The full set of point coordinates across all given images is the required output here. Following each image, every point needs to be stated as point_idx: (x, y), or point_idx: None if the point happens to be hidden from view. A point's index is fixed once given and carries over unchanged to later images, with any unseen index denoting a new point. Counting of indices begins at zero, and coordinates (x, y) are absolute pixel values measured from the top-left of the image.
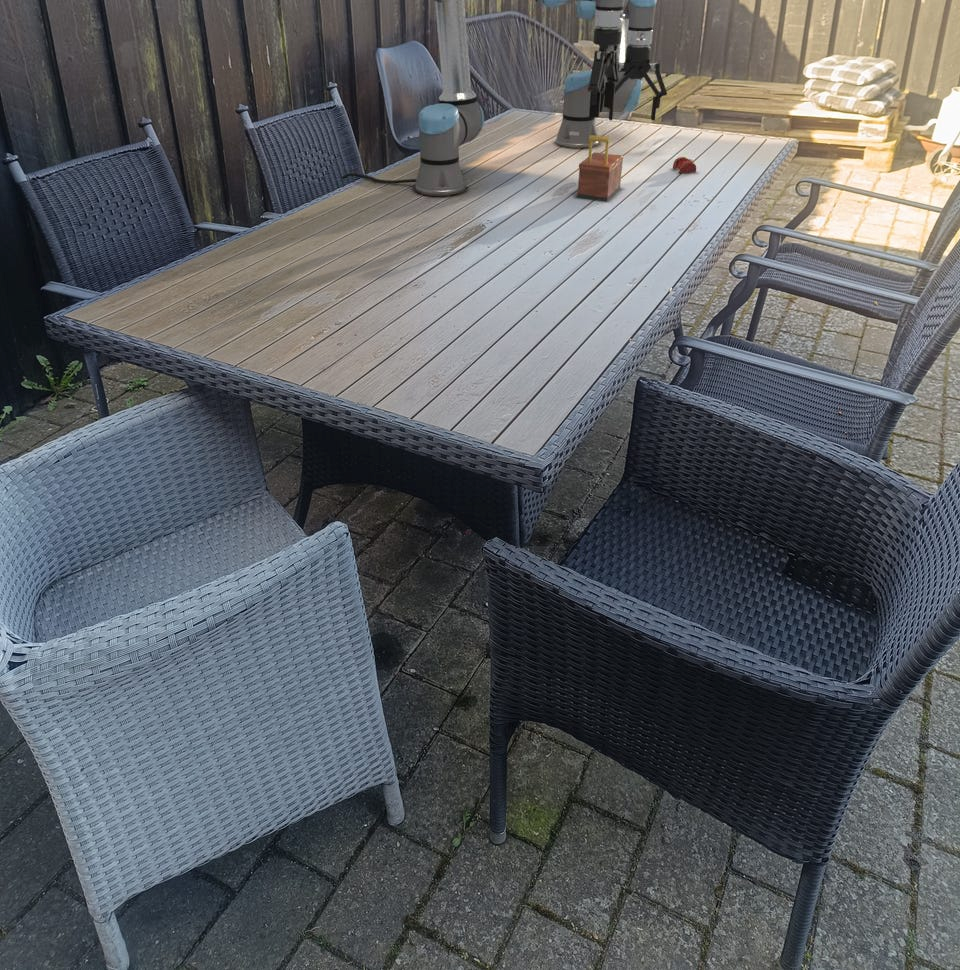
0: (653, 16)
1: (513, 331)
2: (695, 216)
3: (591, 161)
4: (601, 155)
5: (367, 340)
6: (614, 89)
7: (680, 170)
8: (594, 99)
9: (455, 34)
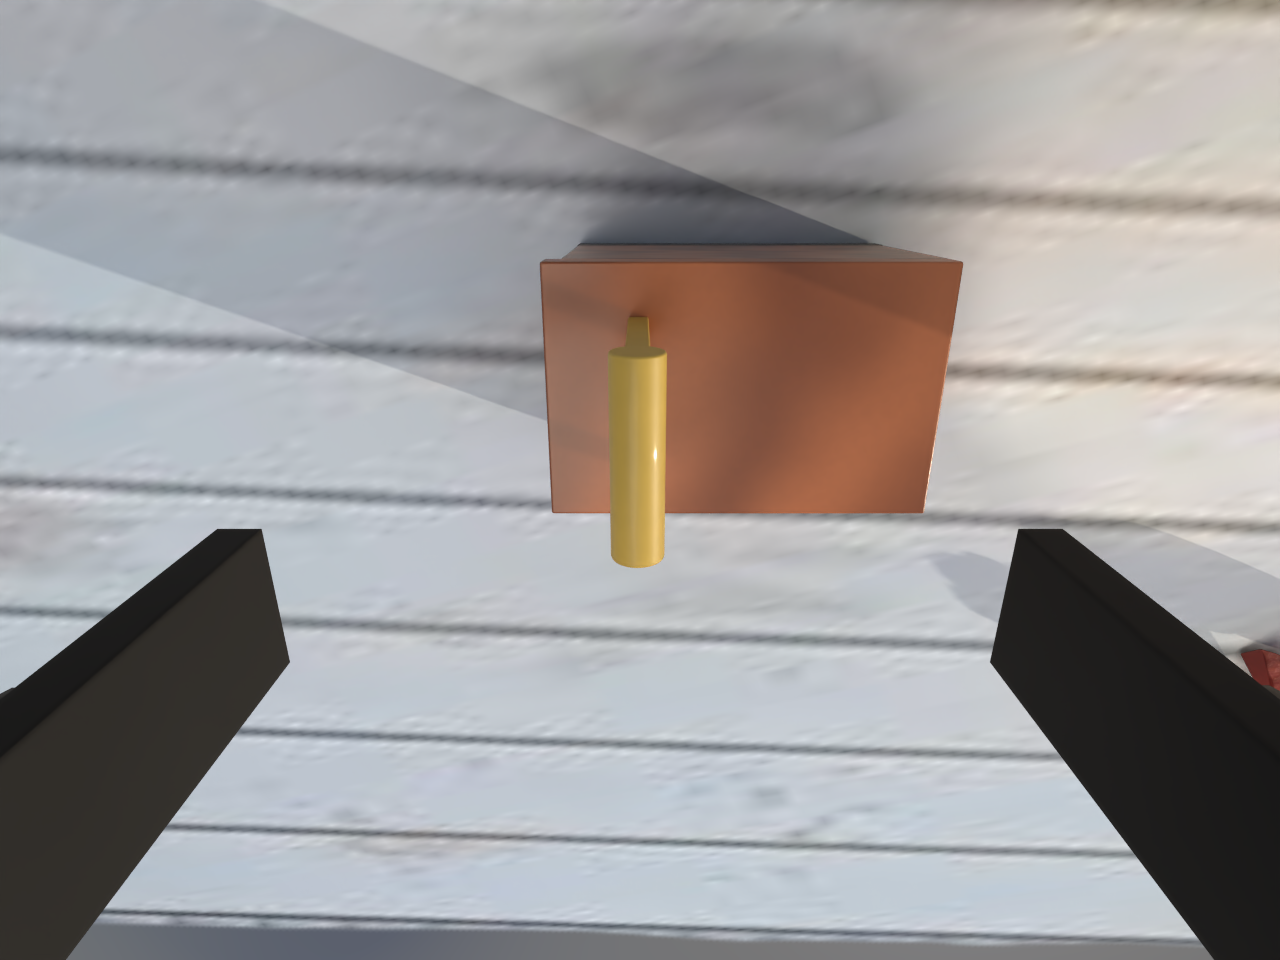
0: None
1: None
2: (552, 831)
3: (659, 337)
4: (875, 357)
5: None
6: (1196, 902)
7: (1252, 664)
8: None
9: None
